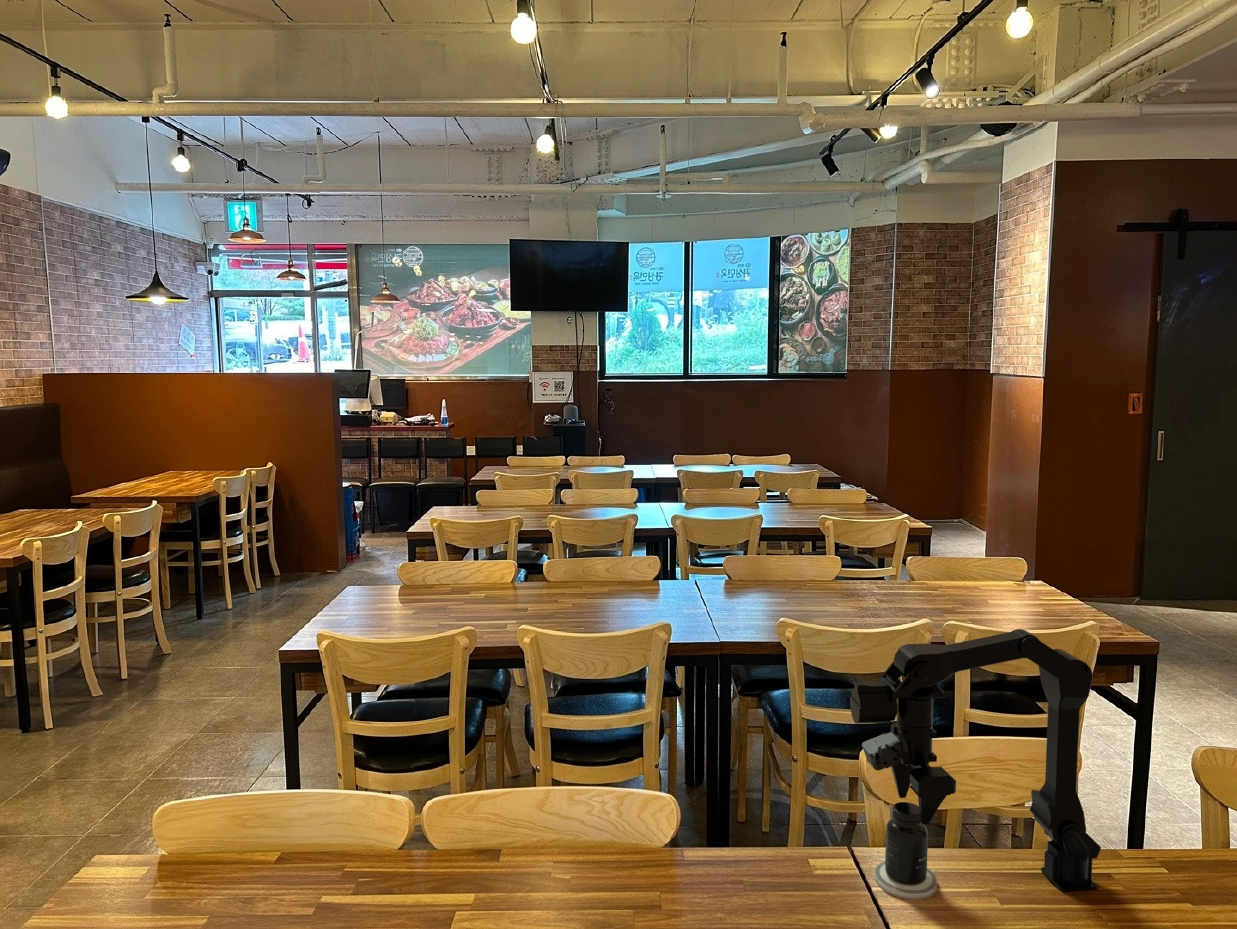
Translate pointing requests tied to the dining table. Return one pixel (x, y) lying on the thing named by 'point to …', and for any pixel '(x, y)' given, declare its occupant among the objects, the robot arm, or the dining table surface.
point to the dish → (903, 890)
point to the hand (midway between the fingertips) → (913, 810)
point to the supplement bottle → (906, 845)
